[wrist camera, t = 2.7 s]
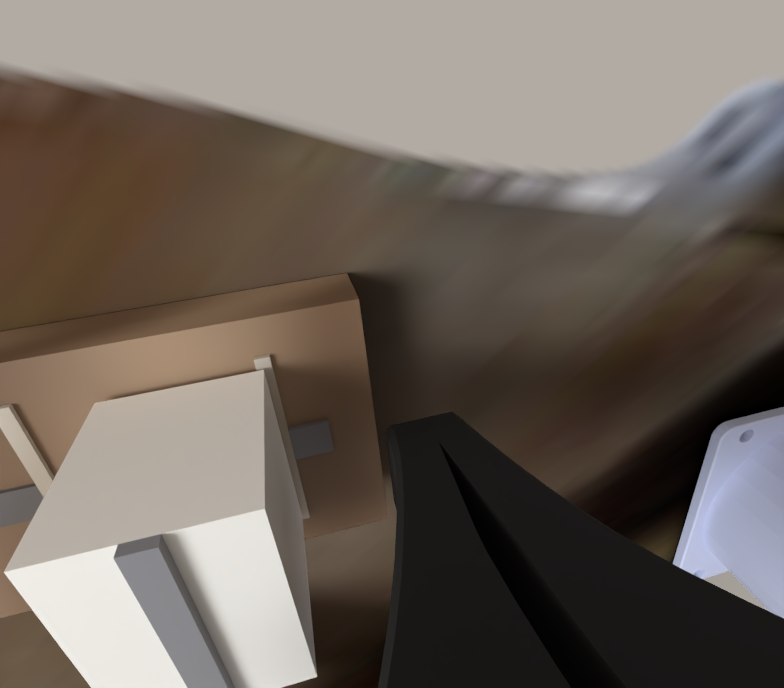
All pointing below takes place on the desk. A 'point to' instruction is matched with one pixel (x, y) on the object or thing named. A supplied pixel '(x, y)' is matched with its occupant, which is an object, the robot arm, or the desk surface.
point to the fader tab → (174, 544)
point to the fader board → (193, 365)
